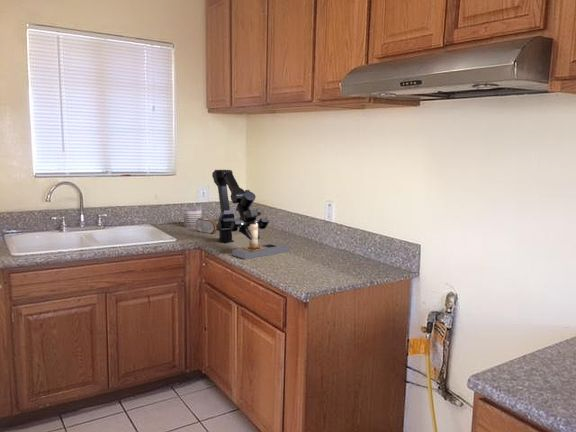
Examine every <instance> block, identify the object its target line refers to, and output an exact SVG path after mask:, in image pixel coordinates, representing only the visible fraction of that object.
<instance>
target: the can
mask: <svg viewBox="0 0 576 432" xmlns="http://www.w3.org/2000/svg"><path fill="white" fill-rule="evenodd" d="M182 209H183V228H185V229H197V228H196V221H197V220H198V219H200V218H203V217H202V216H203V215H202V209H203V207H200V206H196V205H194V206H184V207H183V208H182Z"/></svg>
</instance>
